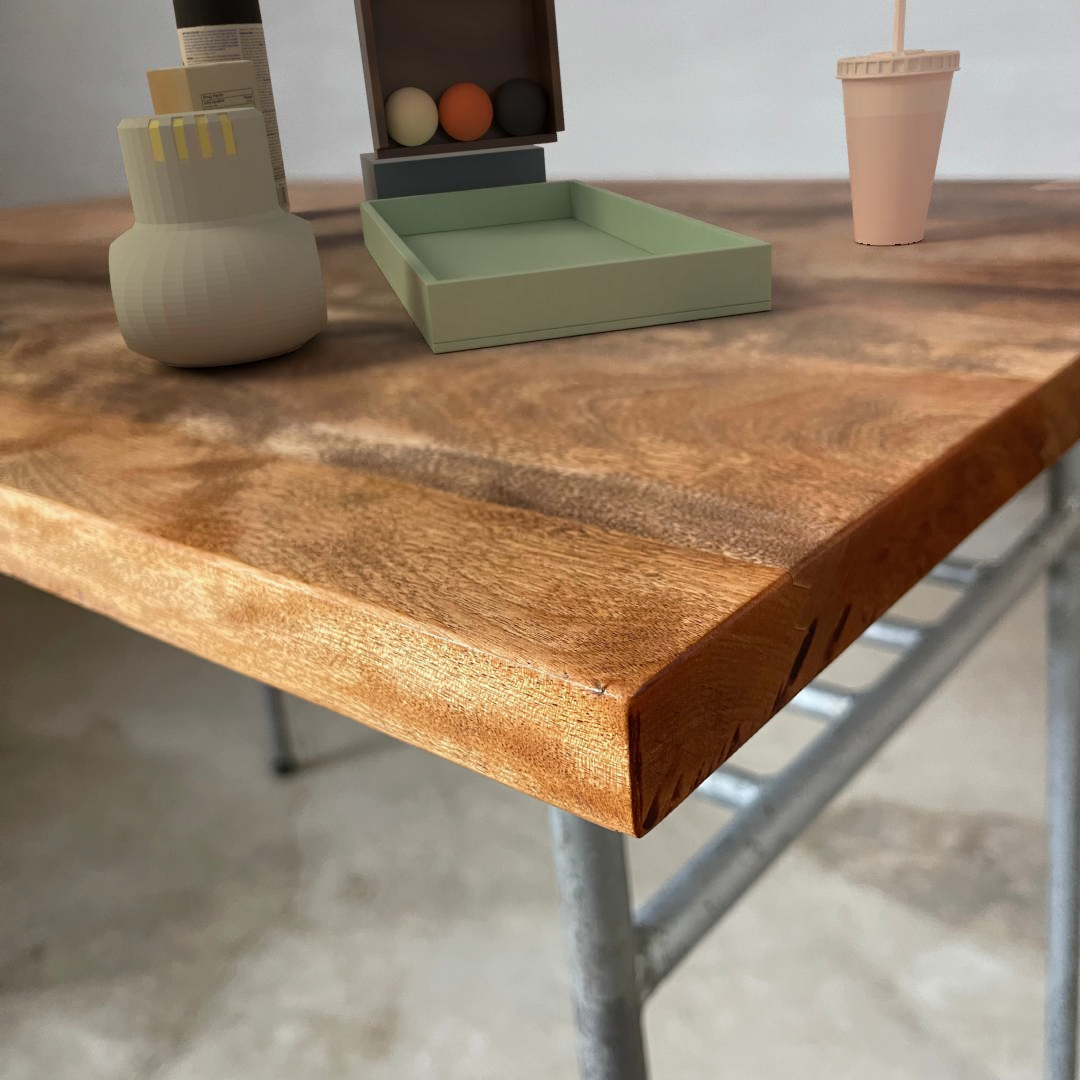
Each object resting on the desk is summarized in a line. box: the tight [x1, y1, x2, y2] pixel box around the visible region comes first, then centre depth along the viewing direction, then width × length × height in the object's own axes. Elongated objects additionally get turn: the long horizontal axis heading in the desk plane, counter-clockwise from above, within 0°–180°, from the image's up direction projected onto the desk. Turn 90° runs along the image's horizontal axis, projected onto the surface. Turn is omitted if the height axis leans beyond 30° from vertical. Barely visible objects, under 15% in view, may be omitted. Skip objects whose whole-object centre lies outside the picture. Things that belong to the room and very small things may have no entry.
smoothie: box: [834, 0, 962, 246], centre depth 61 cm, size 6×6×14 cm
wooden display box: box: [353, 0, 566, 160], centre depth 69 cm, size 14×12×12 cm
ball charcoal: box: [493, 78, 548, 136], centre depth 74 cm, size 4×4×4 cm
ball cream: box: [384, 87, 439, 146], centre depth 73 cm, size 4×4×4 cm
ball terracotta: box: [438, 82, 493, 141], centre depth 73 cm, size 4×4×4 cm
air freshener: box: [108, 108, 328, 368], centre depth 48 cm, size 11×8×10 cm
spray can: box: [172, 0, 291, 213], centre depth 90 cm, size 7×7×20 cm
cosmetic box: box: [145, 60, 262, 115], centre depth 78 cm, size 6×4×12 cm
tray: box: [358, 178, 773, 354], centre depth 62 cm, size 33×15×3 cm, turn 13°
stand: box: [359, 144, 547, 201], centre depth 84 cm, size 11×12×5 cm
